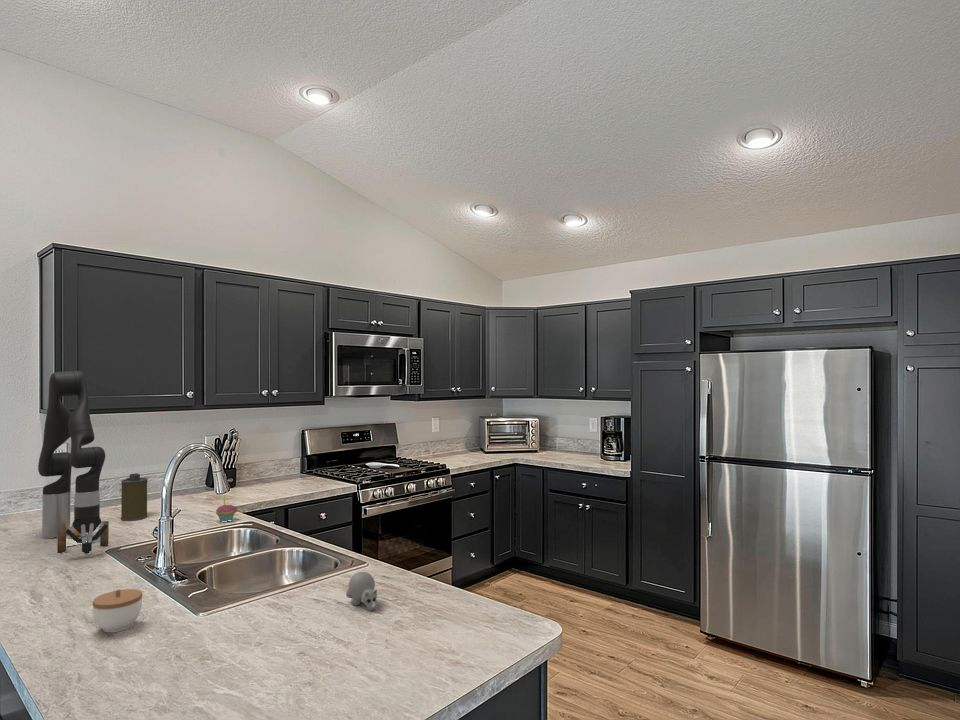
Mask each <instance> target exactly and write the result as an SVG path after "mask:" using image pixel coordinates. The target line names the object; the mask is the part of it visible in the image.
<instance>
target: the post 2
mask: <svg viewBox="0 0 960 720" xmlns="http://www.w3.org/2000/svg"><path fill="white" fill-rule="evenodd" d="M101 522H103V523H106V524H107V525H108V527H107V528H106V529H105V531H104V532H103V533H102V534H101V535H100V542H99V545H100V546H105V547H108V546H109V529H110V527H109V525H110V521H109V520H101Z"/></svg>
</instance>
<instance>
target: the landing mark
mask: <svg viewBox="0 0 960 720" xmlns="http://www.w3.org/2000/svg"><path fill="white" fill-rule="evenodd" d="M94 535H95V534H93V536H94ZM93 536H92V537H93ZM77 537H78V538H81V536H77ZM87 537H88V535H86V541H87ZM70 538H71V537H70ZM71 539H72V538H71ZM95 542H98V543H100V537H99V538H98V539H97V540H94V541H93V542H92V544H96V543H95Z"/></svg>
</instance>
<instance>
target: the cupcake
mask: <svg viewBox="0 0 960 720" xmlns="http://www.w3.org/2000/svg"><path fill="white" fill-rule="evenodd" d="M222 498H223V504H222V505H221V506H219V507H217V509H216V511H215V514H216V515H217V517H218V519H219V521H228V520H232V521H233V519H234V516H235V513H237V512H238V508H237V507H236V506H234V505H232V504H226V496H225V494H224V495H222Z"/></svg>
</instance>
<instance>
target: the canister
mask: <svg viewBox="0 0 960 720" xmlns="http://www.w3.org/2000/svg"><path fill="white" fill-rule="evenodd" d="M120 482H121V494H120V495H121V496H120V497H121V503H120V504H121V507H120V508H121V515H120V516H121V517H120V520H121V521H122V522H131V521H132V522H134V521H141V520H145V519H147V518H148V477H147V478H146V477H141V473H136V472H134V473H130V474H129V477H127V478H125V479H122V480H121V481H120Z"/></svg>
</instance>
